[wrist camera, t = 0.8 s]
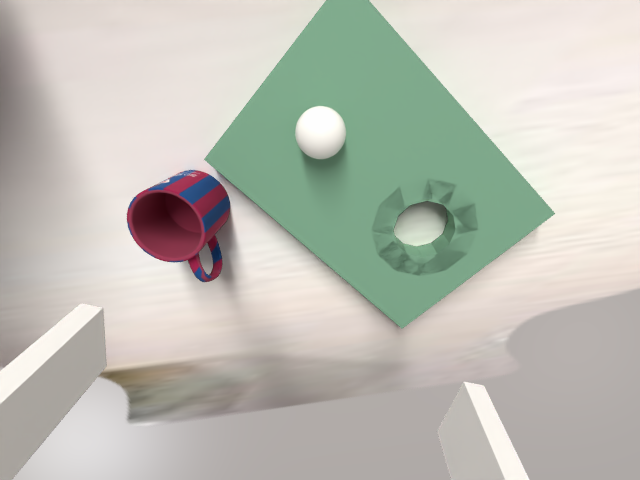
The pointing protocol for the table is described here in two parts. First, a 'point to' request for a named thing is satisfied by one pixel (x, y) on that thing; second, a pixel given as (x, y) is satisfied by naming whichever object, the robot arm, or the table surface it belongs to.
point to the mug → (181, 220)
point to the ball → (320, 132)
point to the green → (376, 164)
